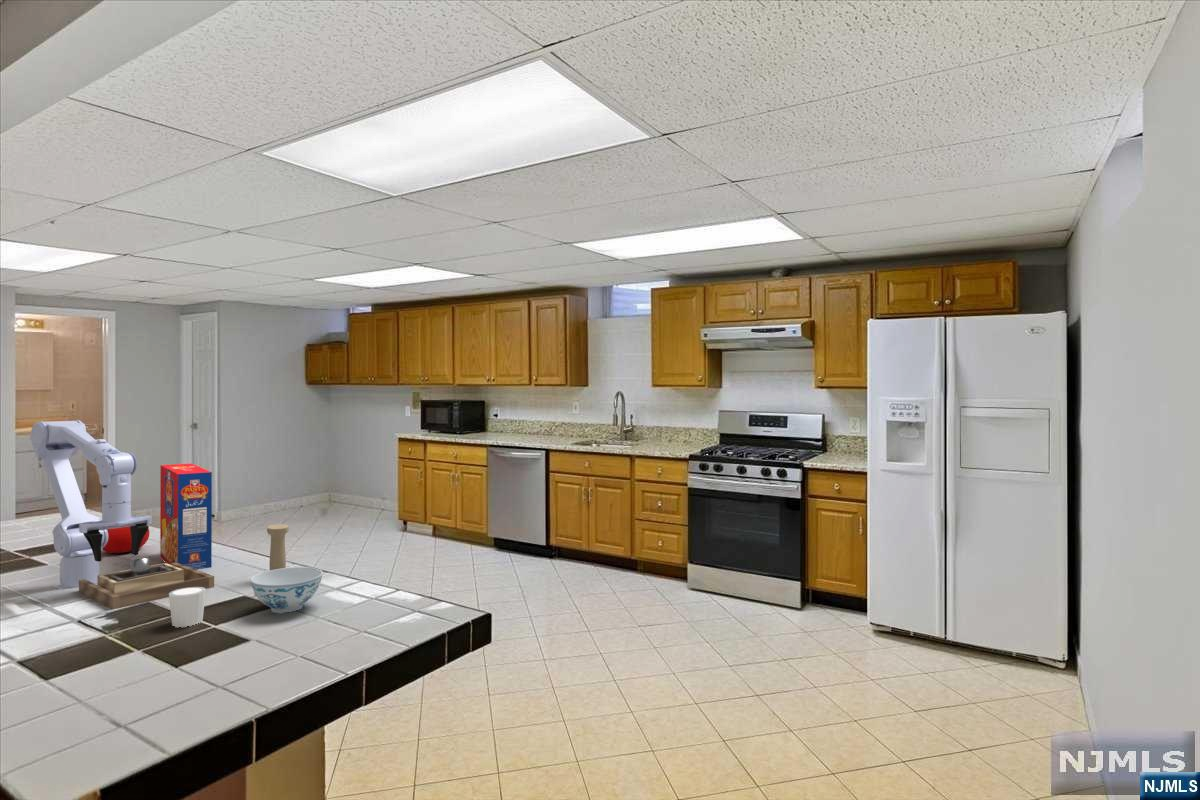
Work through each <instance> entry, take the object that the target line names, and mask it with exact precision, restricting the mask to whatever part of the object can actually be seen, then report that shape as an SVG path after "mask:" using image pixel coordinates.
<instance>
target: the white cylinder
mask: <svg viewBox="0 0 1200 800" xmlns="http://www.w3.org/2000/svg"><path fill="white" fill-rule="evenodd" d="M206 592H207V589H205V588H203V587H188V588H181V589H177V590H174V591H172V592H170V593H169V597H168V598H169V607H170V616H171V617H170V619H171V626H172V627H173V626H175V627H174V628H179V627H181V628H188V627H187V626H189V627H193V626H192V625H194V626H196V625H195V624H197V625H199V624H201V623H202V622H203V621H204V620H203V619H204V612H205V602H206ZM200 622H201V623H200ZM198 623H199V624H198Z"/></svg>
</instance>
